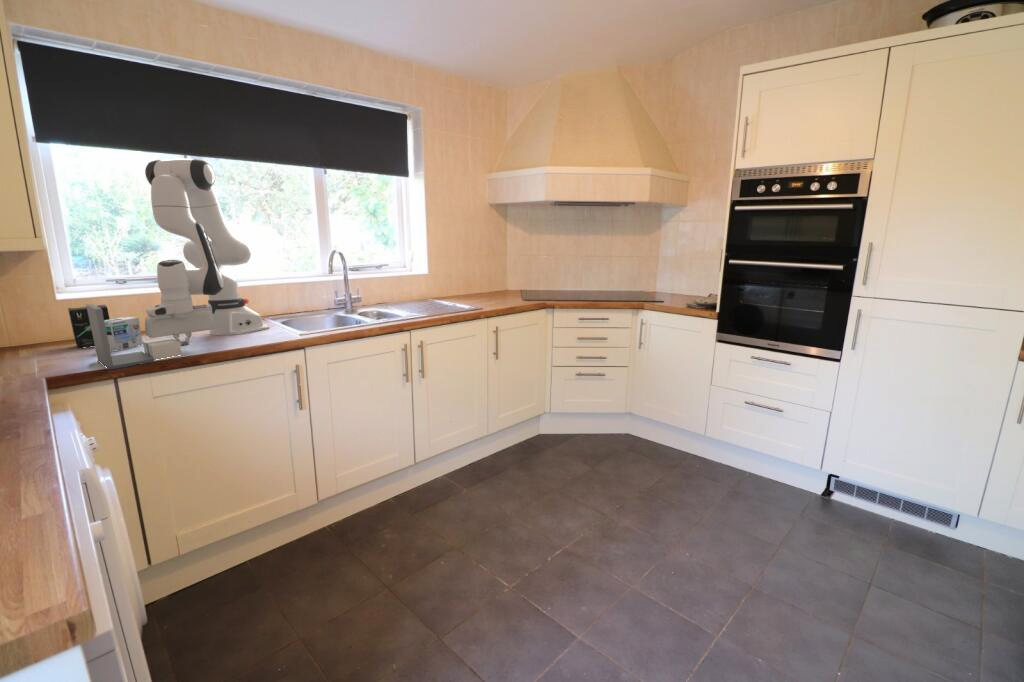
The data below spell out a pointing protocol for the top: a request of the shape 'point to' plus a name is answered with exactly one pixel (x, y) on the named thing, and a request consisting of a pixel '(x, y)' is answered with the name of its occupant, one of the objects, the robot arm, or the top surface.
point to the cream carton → (162, 348)
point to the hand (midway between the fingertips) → (184, 345)
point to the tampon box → (84, 325)
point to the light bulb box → (123, 332)
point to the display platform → (103, 344)
